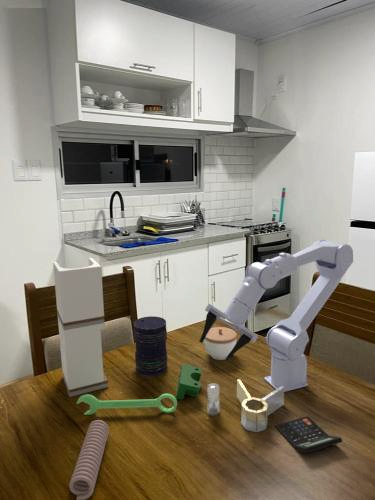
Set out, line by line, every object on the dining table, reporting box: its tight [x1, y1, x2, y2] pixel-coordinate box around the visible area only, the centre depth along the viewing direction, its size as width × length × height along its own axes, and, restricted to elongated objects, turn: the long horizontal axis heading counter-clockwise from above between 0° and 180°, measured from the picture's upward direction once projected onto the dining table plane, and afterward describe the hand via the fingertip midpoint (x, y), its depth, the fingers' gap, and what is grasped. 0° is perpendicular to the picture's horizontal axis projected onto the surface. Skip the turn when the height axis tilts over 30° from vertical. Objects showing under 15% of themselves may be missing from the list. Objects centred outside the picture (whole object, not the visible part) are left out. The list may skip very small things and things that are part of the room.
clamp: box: [175, 363, 202, 401], centre depth 105 cm, size 11×6×8 cm, turn 171°
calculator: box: [274, 415, 343, 454], centre depth 87 cm, size 9×12×3 cm
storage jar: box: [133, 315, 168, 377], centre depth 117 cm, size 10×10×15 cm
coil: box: [68, 419, 110, 500], centre depth 79 cm, size 5×5×18 cm
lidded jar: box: [203, 326, 238, 361], centre depth 125 cm, size 11×11×9 cm
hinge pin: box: [206, 382, 220, 416], centre depth 96 cm, size 3×3×7 cm
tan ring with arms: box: [236, 378, 285, 433], centre depth 97 cm, size 14×14×5 cm
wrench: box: [76, 393, 178, 416], centre depth 96 cm, size 25×2×5 cm, turn 92°
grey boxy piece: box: [52, 257, 109, 398], centre depth 107 cm, size 11×11×35 cm
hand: (213, 351), depth 95 cm, fingers open, 7 cm apart
